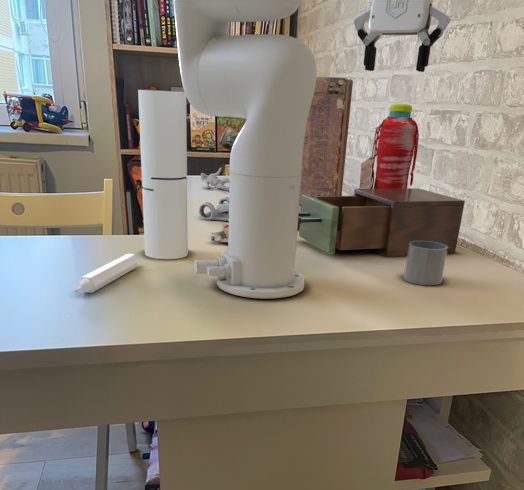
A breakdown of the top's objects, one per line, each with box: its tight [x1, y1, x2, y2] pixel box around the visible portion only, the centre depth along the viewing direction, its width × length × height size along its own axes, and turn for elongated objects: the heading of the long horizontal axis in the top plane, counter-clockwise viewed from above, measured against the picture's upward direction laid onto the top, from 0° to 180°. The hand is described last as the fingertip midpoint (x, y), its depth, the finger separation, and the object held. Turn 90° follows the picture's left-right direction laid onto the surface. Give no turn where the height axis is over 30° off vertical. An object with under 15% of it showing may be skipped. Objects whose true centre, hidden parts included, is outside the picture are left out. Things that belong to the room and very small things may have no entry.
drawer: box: [298, 194, 391, 254], centre depth 101 cm, size 19×13×8 cm
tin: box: [403, 241, 448, 286], centre depth 86 cm, size 6×6×6 cm
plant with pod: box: [210, 126, 240, 243], centre depth 101 cm, size 8×11×20 cm
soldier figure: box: [200, 167, 230, 191], centre depth 164 cm, size 8×5×12 cm
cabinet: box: [353, 187, 466, 258], centre depth 106 cm, size 15×15×10 cm
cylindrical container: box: [137, 89, 189, 260], centre depth 89 cm, size 7×7×25 cm
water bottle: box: [358, 102, 420, 189], centre depth 119 cm, size 12×8×25 cm, turn 66°
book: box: [242, 76, 354, 207], centre depth 143 cm, size 25×9×30 cm, turn 73°
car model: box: [198, 196, 301, 222], centre depth 121 cm, size 11×24×5 cm, turn 65°
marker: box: [74, 253, 140, 294], centre depth 78 cm, size 3×2×16 cm
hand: (394, 70), depth 103 cm, fingers open, 9 cm apart
